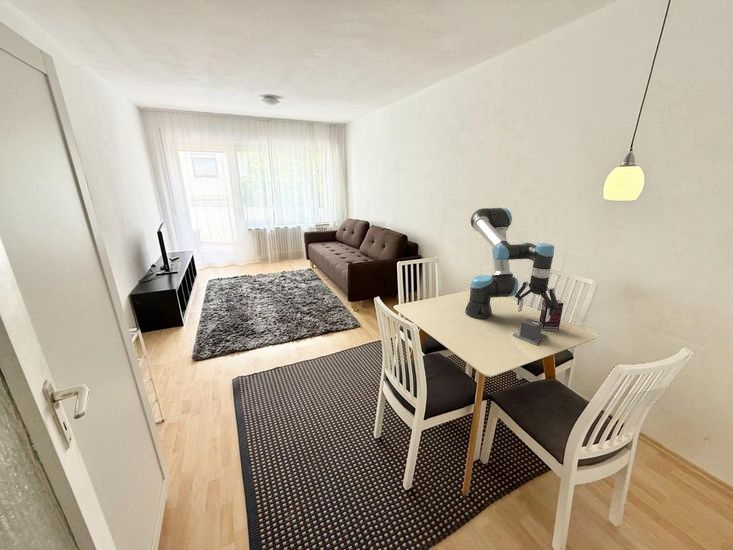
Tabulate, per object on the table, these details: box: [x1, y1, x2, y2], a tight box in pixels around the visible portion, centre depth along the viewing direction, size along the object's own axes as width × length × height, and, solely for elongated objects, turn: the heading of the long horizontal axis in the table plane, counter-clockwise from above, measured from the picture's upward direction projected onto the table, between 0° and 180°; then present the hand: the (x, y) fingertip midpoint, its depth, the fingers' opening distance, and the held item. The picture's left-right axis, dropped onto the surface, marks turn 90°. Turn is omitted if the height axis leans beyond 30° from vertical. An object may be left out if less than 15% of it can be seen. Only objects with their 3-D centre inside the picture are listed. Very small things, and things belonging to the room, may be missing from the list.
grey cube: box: [519, 318, 542, 339], centre depth 150 cm, size 7×7×7 cm
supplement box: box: [538, 299, 564, 331], centre depth 158 cm, size 9×5×16 cm, turn 84°
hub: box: [512, 329, 549, 346], centre depth 151 cm, size 12×12×6 cm
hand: (533, 316), depth 148 cm, fingers open, 13 cm apart
